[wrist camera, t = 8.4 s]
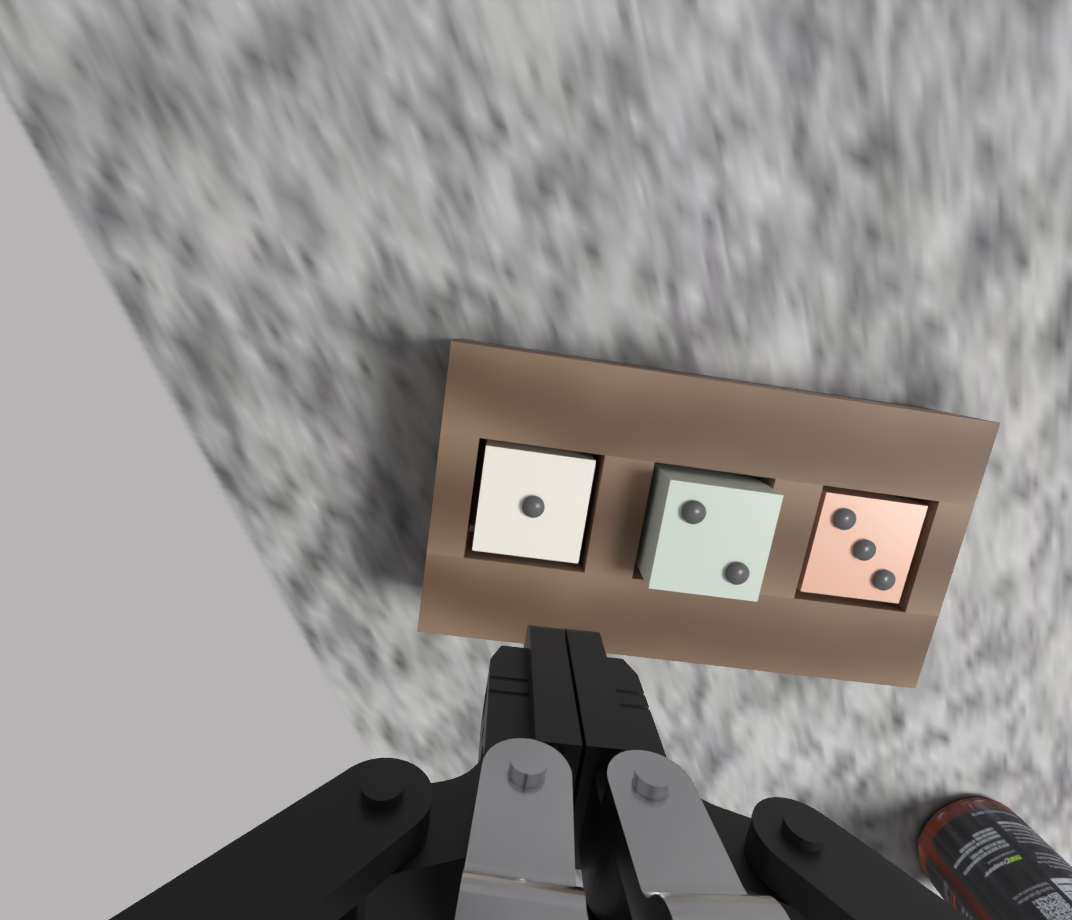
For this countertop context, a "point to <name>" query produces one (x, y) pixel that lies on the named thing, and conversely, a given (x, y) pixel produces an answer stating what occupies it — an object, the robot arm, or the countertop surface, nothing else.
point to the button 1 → (533, 501)
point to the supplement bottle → (994, 864)
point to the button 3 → (861, 544)
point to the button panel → (707, 443)
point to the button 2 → (707, 532)
